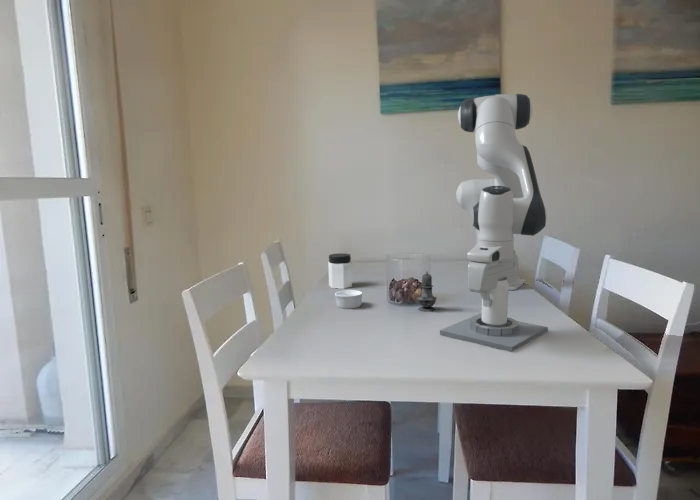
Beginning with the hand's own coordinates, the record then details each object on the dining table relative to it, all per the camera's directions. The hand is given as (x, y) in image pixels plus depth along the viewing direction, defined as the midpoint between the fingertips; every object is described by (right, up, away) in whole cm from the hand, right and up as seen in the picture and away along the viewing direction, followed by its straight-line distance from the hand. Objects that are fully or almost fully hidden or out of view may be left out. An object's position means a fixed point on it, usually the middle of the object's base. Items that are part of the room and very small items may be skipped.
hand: (494, 303), depth 131 cm
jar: (-41, 0, +60) cm, 73 cm away
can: (0, -5, +1) cm, 5 cm away
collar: (0, -7, +1) cm, 7 cm away
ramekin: (-38, -4, +32) cm, 50 cm away
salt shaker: (-14, -5, +26) cm, 29 cm away
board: (0, -8, +1) cm, 8 cm away
